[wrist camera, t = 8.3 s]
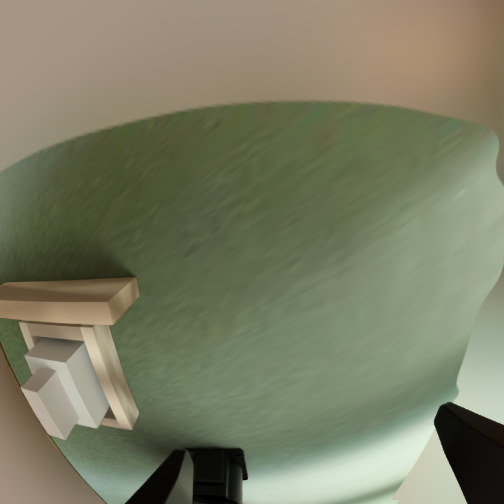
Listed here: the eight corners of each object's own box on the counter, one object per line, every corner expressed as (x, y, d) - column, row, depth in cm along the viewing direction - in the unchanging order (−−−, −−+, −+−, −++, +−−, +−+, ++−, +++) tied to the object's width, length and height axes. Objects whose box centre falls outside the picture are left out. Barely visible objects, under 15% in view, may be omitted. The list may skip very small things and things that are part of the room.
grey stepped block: (115, 394, 22) (85, 451, 14) (76, 388, 22) (42, 437, 14) (93, 332, 21) (45, 385, 13) (53, 330, 20) (4, 373, 13)
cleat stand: (172, 415, 22) (161, 453, 18) (48, 396, 22) (28, 421, 17) (136, 277, 19) (107, 301, 15) (5, 282, 19) (-27, 298, 14)
